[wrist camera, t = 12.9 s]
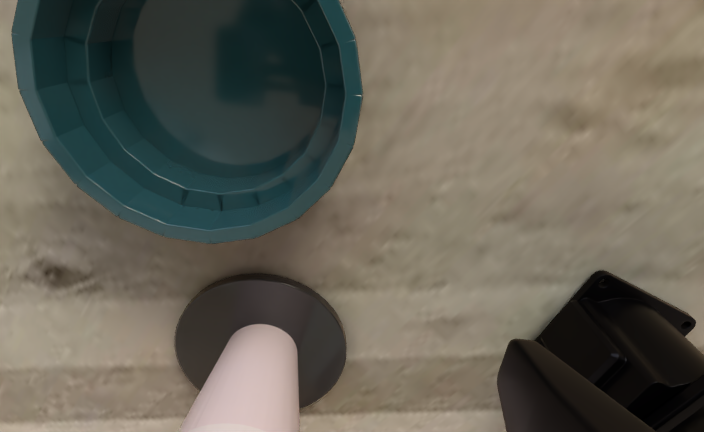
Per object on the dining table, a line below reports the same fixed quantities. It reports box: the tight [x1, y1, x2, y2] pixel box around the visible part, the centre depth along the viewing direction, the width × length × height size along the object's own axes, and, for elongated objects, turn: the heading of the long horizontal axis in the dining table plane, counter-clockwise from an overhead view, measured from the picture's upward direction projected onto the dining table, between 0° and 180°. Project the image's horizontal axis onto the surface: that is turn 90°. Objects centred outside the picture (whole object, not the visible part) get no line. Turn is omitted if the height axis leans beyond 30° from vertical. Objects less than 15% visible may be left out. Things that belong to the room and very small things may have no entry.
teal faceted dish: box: [11, 0, 363, 244], centre depth 17 cm, size 11×11×4 cm
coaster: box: [175, 274, 346, 409], centre depth 24 cm, size 9×9×1 cm
